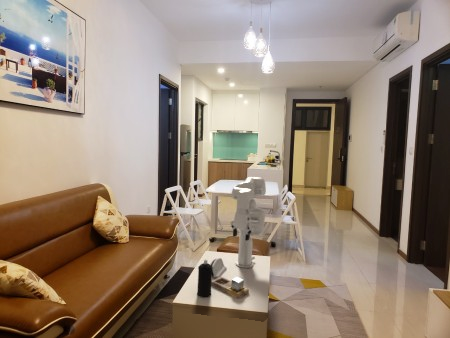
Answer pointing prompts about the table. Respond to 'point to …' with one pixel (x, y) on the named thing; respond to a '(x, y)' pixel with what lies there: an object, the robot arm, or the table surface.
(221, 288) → the wooden slotted tray
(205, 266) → the aerosol can
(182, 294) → the table surface
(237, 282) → the grey rectangular block
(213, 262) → the gray curved box
